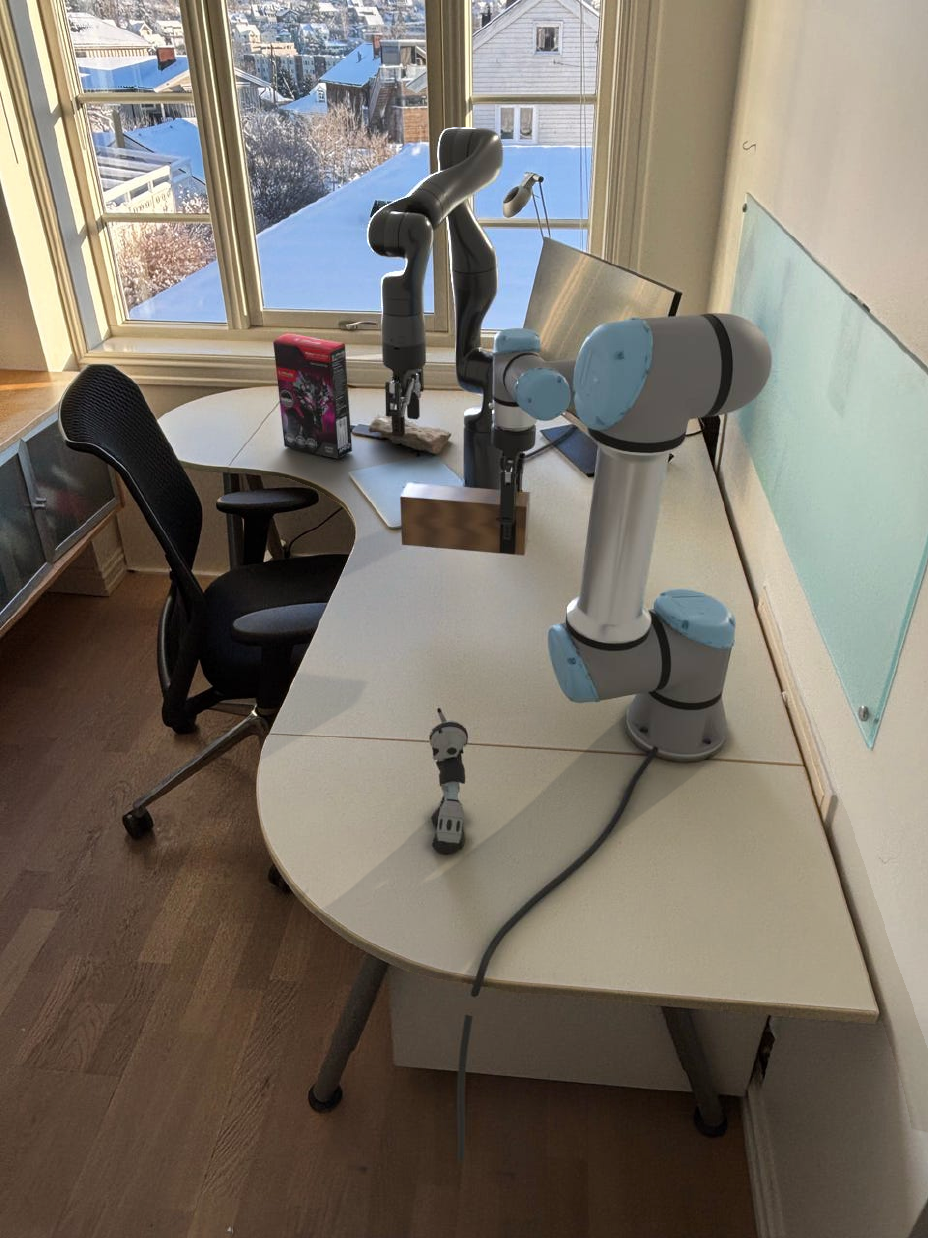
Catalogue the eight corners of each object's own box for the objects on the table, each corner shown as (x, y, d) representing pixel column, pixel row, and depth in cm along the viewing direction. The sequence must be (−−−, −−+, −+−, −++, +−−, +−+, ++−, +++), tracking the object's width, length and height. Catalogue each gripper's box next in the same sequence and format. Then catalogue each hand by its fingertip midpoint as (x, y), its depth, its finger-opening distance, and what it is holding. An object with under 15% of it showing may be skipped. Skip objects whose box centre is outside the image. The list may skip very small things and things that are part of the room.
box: (527, 540, 171) (530, 492, 166) (524, 555, 166) (526, 506, 161) (408, 530, 174) (407, 482, 169) (401, 544, 169) (400, 496, 164)
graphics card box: (282, 447, 232) (270, 339, 217) (298, 438, 237) (288, 331, 222) (338, 461, 225) (330, 350, 210) (354, 451, 230) (347, 342, 215)
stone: (352, 437, 229) (357, 414, 227) (374, 429, 242) (378, 406, 240) (431, 462, 226) (437, 438, 223) (448, 452, 239) (454, 429, 237)
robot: (470, 888, 117) (472, 772, 106) (432, 889, 117) (430, 773, 106) (463, 780, 133) (464, 669, 122) (429, 781, 133) (427, 670, 122)
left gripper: (396, 323, 164) (399, 410, 173) (368, 347, 153) (373, 439, 162) (436, 327, 163) (437, 415, 172) (411, 352, 151) (413, 444, 160)
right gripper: (499, 402, 164) (496, 518, 177) (483, 443, 149) (481, 567, 162) (541, 405, 163) (535, 521, 176) (530, 446, 148) (524, 571, 161)
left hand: (406, 426), depth 167 cm, fingers open, 8 cm apart
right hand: (509, 543), depth 169 cm, fingers closed on box, 6 cm apart
